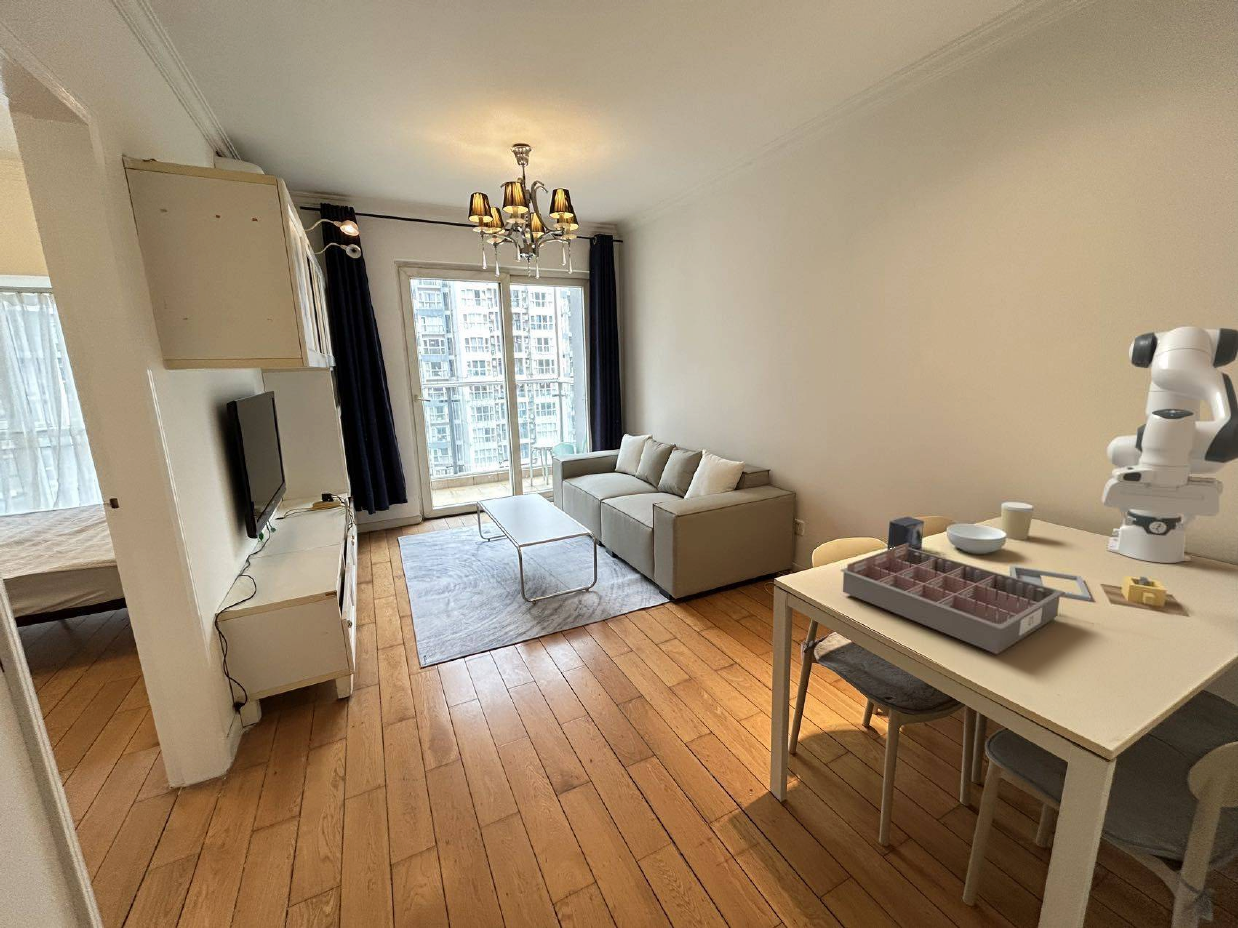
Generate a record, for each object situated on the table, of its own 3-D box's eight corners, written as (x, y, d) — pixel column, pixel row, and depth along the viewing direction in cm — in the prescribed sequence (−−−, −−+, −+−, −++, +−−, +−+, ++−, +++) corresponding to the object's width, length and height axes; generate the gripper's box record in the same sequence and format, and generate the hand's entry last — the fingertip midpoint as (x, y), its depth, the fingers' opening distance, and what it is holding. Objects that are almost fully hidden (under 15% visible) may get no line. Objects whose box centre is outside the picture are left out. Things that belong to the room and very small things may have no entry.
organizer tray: (999, 662, 109) (1003, 620, 107) (838, 596, 143) (839, 563, 141) (1061, 621, 124) (1066, 584, 123) (903, 570, 159) (905, 540, 157)
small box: (904, 554, 171) (906, 525, 169) (886, 549, 176) (888, 520, 174) (922, 548, 175) (925, 520, 173) (905, 543, 181) (907, 515, 179)
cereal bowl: (958, 538, 184) (960, 520, 183) (1012, 551, 170) (1015, 531, 169) (936, 549, 175) (937, 529, 174) (991, 563, 161) (993, 542, 160)
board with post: (1099, 588, 141) (1102, 565, 139) (1171, 600, 133) (1175, 575, 131) (1109, 608, 129) (1113, 583, 128) (1189, 622, 121) (1194, 595, 120)
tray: (1009, 573, 153) (1010, 565, 152) (1079, 584, 144) (1080, 576, 143) (1012, 592, 140) (1013, 584, 140) (1089, 606, 131) (1091, 597, 131)
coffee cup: (1025, 533, 186) (1029, 502, 184) (1034, 541, 178) (1037, 509, 176) (995, 531, 190) (998, 500, 188) (1002, 539, 182) (1005, 507, 180)
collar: (1121, 591, 135) (1123, 575, 135) (1156, 596, 132) (1158, 581, 131) (1130, 605, 128) (1132, 589, 127) (1167, 611, 124) (1170, 594, 123)
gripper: (1219, 476, 121) (1209, 530, 124) (1104, 469, 133) (1097, 519, 136) (1230, 481, 116) (1219, 537, 119) (1109, 473, 128) (1101, 525, 130)
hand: (1153, 527), depth 127 cm, fingers open, 8 cm apart
